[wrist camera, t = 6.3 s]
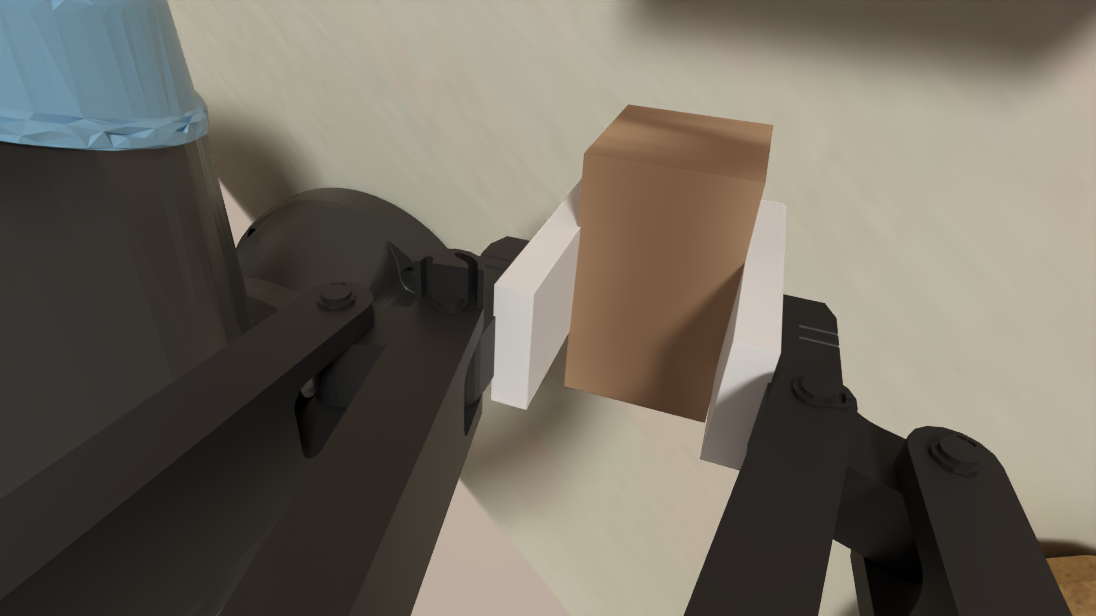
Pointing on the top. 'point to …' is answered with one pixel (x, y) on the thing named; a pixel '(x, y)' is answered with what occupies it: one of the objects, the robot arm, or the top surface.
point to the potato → (1076, 582)
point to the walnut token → (662, 254)
